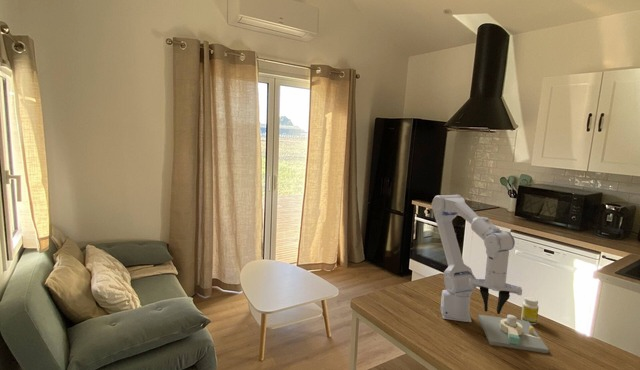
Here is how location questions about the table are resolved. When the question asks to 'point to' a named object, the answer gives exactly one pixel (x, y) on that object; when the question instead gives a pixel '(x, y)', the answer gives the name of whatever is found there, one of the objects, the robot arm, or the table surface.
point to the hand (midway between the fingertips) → (491, 311)
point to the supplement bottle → (530, 310)
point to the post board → (500, 338)
